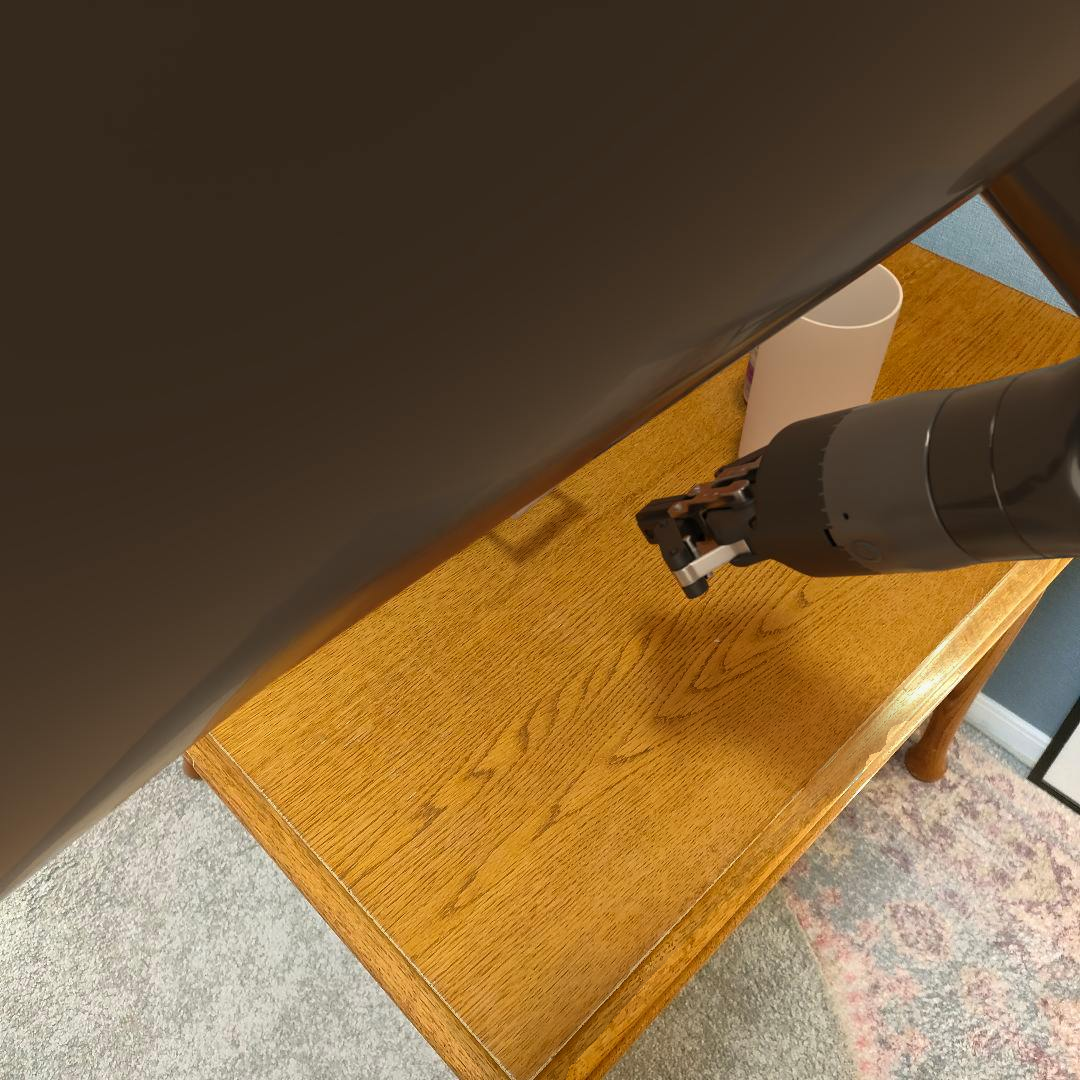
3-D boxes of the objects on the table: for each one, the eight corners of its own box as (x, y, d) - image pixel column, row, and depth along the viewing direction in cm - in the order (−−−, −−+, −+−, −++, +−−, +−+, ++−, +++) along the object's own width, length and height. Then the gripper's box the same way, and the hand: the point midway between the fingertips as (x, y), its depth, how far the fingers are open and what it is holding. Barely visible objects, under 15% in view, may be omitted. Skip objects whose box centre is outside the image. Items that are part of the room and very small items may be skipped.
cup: (823, 516, 70) (878, 344, 57) (720, 474, 73) (751, 302, 60) (862, 446, 74) (921, 272, 62) (763, 409, 77) (800, 236, 64)
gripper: (929, 338, 43) (686, 411, 58) (760, 501, 37) (539, 535, 52) (997, 475, 45) (745, 511, 60) (847, 651, 39) (608, 643, 54)
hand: (649, 522), depth 56 cm, fingers closed
